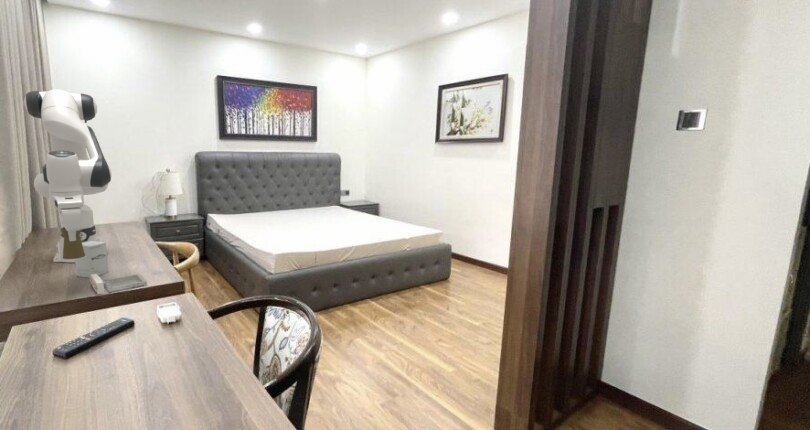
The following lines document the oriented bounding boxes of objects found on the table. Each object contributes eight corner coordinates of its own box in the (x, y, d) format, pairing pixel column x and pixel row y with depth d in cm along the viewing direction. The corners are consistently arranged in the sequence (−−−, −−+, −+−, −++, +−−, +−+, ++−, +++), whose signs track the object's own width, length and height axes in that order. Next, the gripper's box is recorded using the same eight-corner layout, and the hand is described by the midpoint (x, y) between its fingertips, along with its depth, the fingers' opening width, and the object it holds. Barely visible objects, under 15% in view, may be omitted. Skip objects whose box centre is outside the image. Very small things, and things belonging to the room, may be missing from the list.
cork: (59, 259, 134) (55, 227, 132) (68, 254, 139) (64, 224, 138) (80, 258, 136) (77, 227, 134) (88, 253, 141) (85, 223, 139)
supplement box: (91, 278, 153) (88, 246, 150) (76, 276, 154) (72, 244, 152) (109, 272, 160) (106, 242, 157) (94, 270, 161) (91, 240, 159)
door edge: (90, 285, 145) (88, 274, 145) (97, 283, 147) (96, 273, 146) (96, 294, 137) (95, 283, 136) (104, 293, 139) (103, 282, 138)
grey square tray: (102, 284, 147) (102, 279, 147) (139, 277, 155) (138, 273, 155) (109, 292, 139) (109, 288, 139) (147, 285, 147) (146, 281, 147)
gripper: (51, 196, 139) (56, 234, 141) (58, 204, 125) (62, 246, 127) (74, 195, 143) (78, 232, 145) (83, 202, 129) (87, 243, 132)
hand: (71, 239), depth 136 cm, fingers closed on cork, 4 cm apart
